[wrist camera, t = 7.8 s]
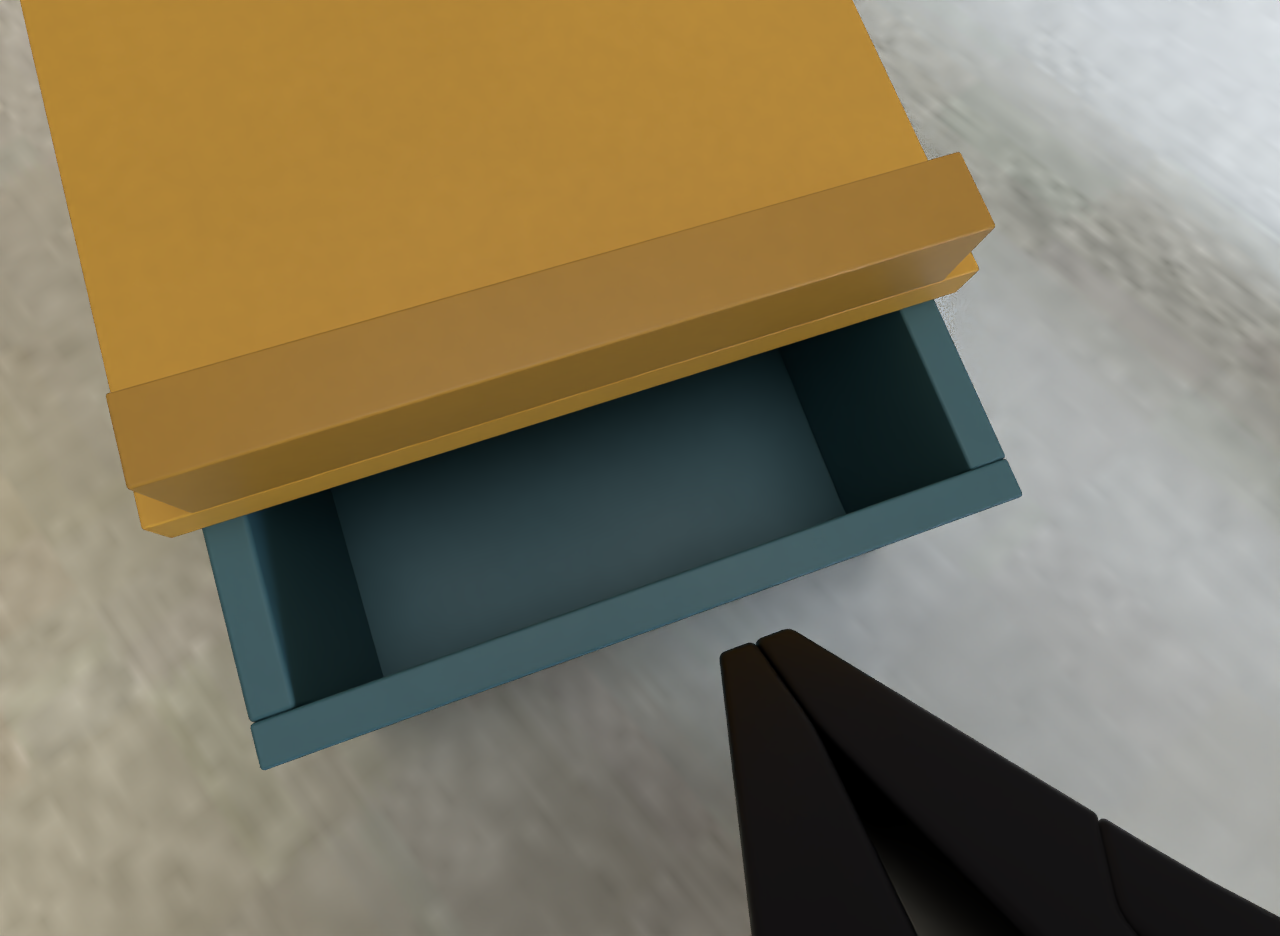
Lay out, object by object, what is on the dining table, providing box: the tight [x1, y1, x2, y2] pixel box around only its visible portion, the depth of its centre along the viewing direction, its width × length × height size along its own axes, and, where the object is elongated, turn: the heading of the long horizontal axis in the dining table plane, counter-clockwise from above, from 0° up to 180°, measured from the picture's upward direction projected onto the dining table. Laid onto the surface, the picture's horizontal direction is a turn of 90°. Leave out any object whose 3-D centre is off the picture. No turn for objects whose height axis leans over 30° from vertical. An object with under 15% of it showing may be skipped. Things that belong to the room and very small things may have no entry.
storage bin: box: [202, 299, 1022, 770], centre depth 19 cm, size 13×15×8 cm
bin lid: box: [20, 0, 995, 538], centre depth 15 cm, size 14×16×3 cm
